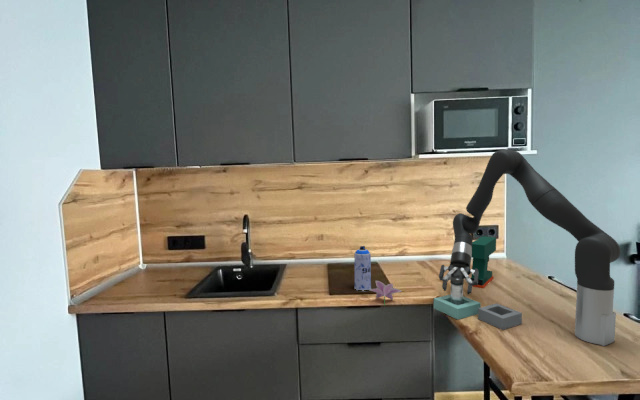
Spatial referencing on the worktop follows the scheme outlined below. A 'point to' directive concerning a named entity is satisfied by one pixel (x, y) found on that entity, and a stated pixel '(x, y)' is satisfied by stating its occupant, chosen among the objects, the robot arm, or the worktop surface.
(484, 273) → the power tool
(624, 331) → the worktop surface
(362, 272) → the aerosol can
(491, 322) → the socket block
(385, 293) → the lily
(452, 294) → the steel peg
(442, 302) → the teal square tray
